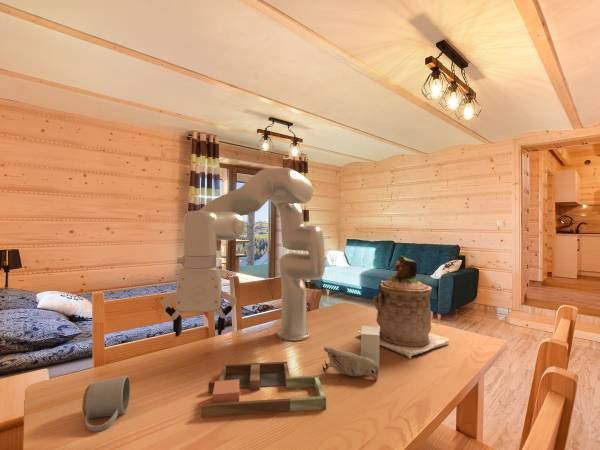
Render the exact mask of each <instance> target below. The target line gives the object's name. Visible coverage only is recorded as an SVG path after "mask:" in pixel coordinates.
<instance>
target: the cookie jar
mask: <svg viewBox="0 0 600 450" xmlns="http://www.w3.org/2000/svg"><path fill="white" fill-rule="evenodd" d="M394 269H395V270H396V271H397V272H395V273H394V274H393V275H392V276H390V277H388V278H387V279H386V280H380V282H379V285H378V291H380V293H378V295H375V296H373V298H372V301H373V303H374V307H375V308H376V310H377V311H376V319H375V320H376V323H377V325H378V326H377V327H378V328H379V335H380V346H382V347H384V348H386V349H389V350H392V351H393V352H396V353H398V354H400V355H403V356H406V357H408V358H409V359H412V356H415V355H419V354H423V353H425V352H427V351H430V350H433V349H435V348H440V347H443V346H447V345H449V342H450V339H449V338H448V337H445V336H440V335H437V334H434V333H431V330H432V310H431V299H430V295H431V293H432V291H433V288H432V286H430V285H427V284H424V283H423V282H421V281H419V280H418V279H417V278H416V276H417V272H418V264H417V261H415V260H414V259H411V258H407V257H405V256H403V255H400V256H399V257H398V260H396V262H395V263H394ZM357 333H358V334H359V335H361V330H358V331H357Z"/></svg>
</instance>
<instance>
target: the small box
mask: <svg viewBox="0 0 600 450" xmlns="http://www.w3.org/2000/svg"><path fill="white" fill-rule="evenodd" d="M378 327H379V326H372V325H360V331H361V334H360V356H361V357H368V358H370V359H372V360H374V361H375V363H376V364H377V366H378V371H379V370H380V346H381V345H380V335H379V328H378Z"/></svg>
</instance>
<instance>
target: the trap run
mask: <svg viewBox="0 0 600 450" xmlns="http://www.w3.org/2000/svg"><path fill="white" fill-rule="evenodd" d="M318 375H319V374H318ZM318 375H316V374H315V375H299V376H298V375H297V376H290V370H289V365H288V361H270V362H251V363H250V362H249V363H248V362H247V363H232V364H231V363H228V364H226V363H225V364H222V367H221V371H220V375H219V380H218V381H224V380H237V379H239V389H249V391H260V389H261V388H267V387H285V388H286V389H298V388H312V387H314V390H315V392H316V396H304V397H292V398H291V397H290V398H289V397H288V398H274V399H273V398H272V399H257V400H244V401H243V400H241V401H240V400H239V402H224V403H213V402H210V403H202V404H201V408H200V409H201V412H200V413H201V414H200V418H213V417H227V416H243V415H256V414H258V415H259V414H271V413H272V414H273V413H286V412H299V411H300V412H301V411H314V410H316V411H317V410H327V397H326V394H325V392H324V389H323V386H322V383H321V381H320V379H319V376H318ZM215 381H216V380H209V381H208V390H207V391H208V393H209V394H213V391H214V385H215Z"/></svg>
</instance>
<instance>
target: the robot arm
mask: <svg viewBox="0 0 600 450" xmlns="http://www.w3.org/2000/svg"><path fill="white" fill-rule="evenodd" d="M313 192H314V189H313V185H312V183H311V181H310V180H309V179H308V178H307V177H305V176H304V175H302V174H301V173H299V172H298V171H296V170H295V169H293V168H290V167H276V168H275V167H274V168H264V169H261V170H259V171H257V173H255V174H254V175H253V176H252V177H251V178H250V179H248V180H247V181H246V182H245V183H244V184H243V185H241V187H239V188H236V189H233V190H231V191H229V192H227V193H225V194H223V195H221V196H218V197H216V198H214V199H212V200H211V201H209V202H207V203H205V205H204V206H203V207H201V208H200V209H198V210H191V211H189V210H188V211H186V213H185V214H184V216H183V255H182V256H181V257H177V259H176V262H177V263H176V264H180V265H182V267H181V268H180V269H179V271H178V276H177V284H176V292H175V293H172V294H171V295H169V296H167V297H165V298H163V299H162V300H161V301H160V302H161V305H162V307H163V308H164V310H165V313H166V314H168V316H169V317H171V320H172V323H173V324H172V328H173V329H172V331H173V332H174V333H175V334H174V335H175V337H176V338H177V337H179V336H180V335H181V334H182V328H183V327H182V326H183V324H182V323H183V322H182V319H183V317H182V315H181V314H182V313H213V312H215V313H216V314H217V316H218V318H217V335H218V336H221V335H222V332H223V331H225V329H226V326H225V325H226V323H225V322H226V317H227V316H228V314H230V312H231V311H232V310H233V308H234V306H235V305H236V303H237V297H235V296H233V295H231V294H229V293H227V292H225V291H223V290H222V278H221V277H222V276H221V272H220V268H219V267H217V249H218V248H217V244H218V243H217V241H235V240H238V239H239V238H240V237H241V236H242V235H244V234H243V233H244V232H245V228H246V224H245V219H244V218H243V217H242V216H247V215H250V214H252V213H256V212H258V211H260V209H261V208H262V207H263V206H264V205H265V204H266V203H267V202H268V201H270V202H271V203H272V204H273V205H274V206H275V208H276V209H277V210H278V214H279V218H280V230H281V231H280V232H281V233H280V234H281V242H282V246H283V248H284V249H286V250H291V251H298V252H288V253H285V254H283V255H282V256H281V257H280V259H279V263H278V267H279V274H280V281H281V315H280V316H281V317H280V319H281V320H280V321H281V322H280V323H281V324H280V325H281V327H280V328H279V329H278V330H277V331H276V336H277V337H278V338H279V339H281V340H284V341H289V342H290V341H292V342H293V341H294V342H296V341H298V342H299V341H303V340H305V339H308V338H309V337H310V336H311V331H310V330H309V329H308V328H307V327H306V326H307V287H306V285H305V283H304V281H303V280H310V281H317V280H321V279H322V278H323V277H324V275H325V269H326V268H325V267H326V266H325V265H326V263H325V261H326V260H325V239H324V234H323V231H322V229H321V228H320V227H319V226H317V225H307V224H306V225H305V224H304V216H303V215H304V214H303V209H302V208H301V205H300V204H307V203H309V202H310V201H311V200H312V197H313V196H314V195H313V194H314V193H313ZM299 251H302V252H308V253H301V252H299ZM174 300H175V308H174V307H173V306H172V305H171V302H173V301H174ZM223 300H226V301H228V302H229V303H228V305H227V306H226V307H225V308H224V307H223V306H222V302H223Z"/></svg>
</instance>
